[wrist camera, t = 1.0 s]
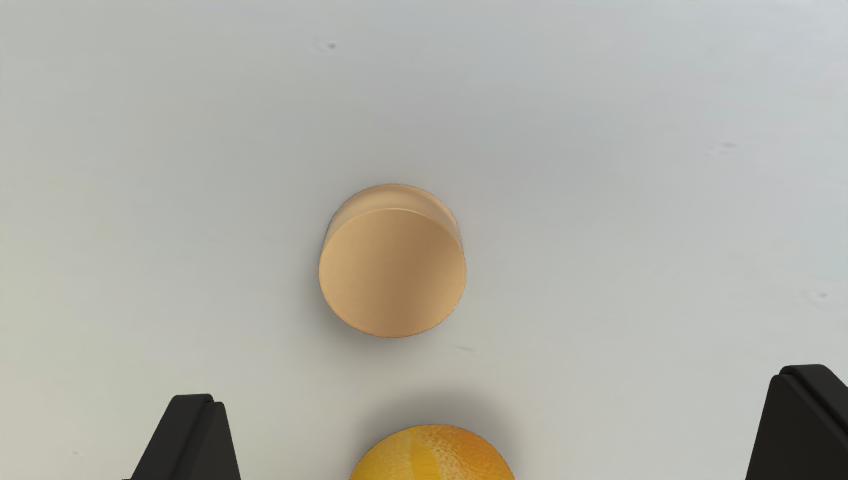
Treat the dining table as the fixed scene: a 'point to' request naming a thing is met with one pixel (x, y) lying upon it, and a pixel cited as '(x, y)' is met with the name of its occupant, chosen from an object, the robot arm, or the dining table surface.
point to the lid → (392, 261)
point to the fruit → (432, 456)
